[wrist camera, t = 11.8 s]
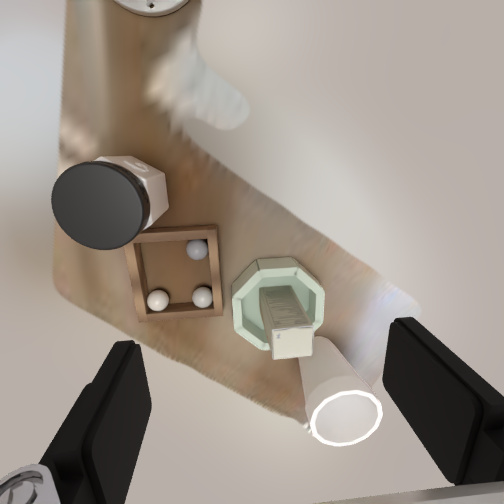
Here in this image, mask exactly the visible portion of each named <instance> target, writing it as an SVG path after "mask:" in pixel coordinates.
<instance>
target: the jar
mask: <svg viewBox="0 0 504 504" xmlns="http://www.w3.org/2000/svg"><path fill="white" fill-rule="evenodd" d="M51 197H52V198H51V203H52V209H53V213H54V216H55V218H56V220H57V222H58V224H59V225H60V227H61V228H62V229H63V230H64V232H65V233H66V234H67V235H68V236H70V237H71V238H72V239H73V240H75V241H76V242H78V243H80V244H82V245H84V246H86V247H89V248H93V249H98V250H112V249H117V248H120V247H122V246H125V245H126V244H128V243H130V242H131V241H132V240H133V239H134V238H135V237H136V236H138V235H139V234H140V233H141V232H142V231H143V230H144V229H146V228H147V227H149V226H151V225H152V224H153V223H154V222H155V221H156V220H157V219H158V218H159V217H160V216H161V215H162V214H163V213H164V212H165V211H166V210H168V208H169V204H168V196H167V188H166V179H165V174H164V173H163V172H161V171H159V170H157V169H156V168H154V167H152V166H150V165H148V164H146V163H144V162H142V161H140V160H138V159H136V158H134V157H133V156H103V157H99V158H97V159H96V160H94V161H91V162H84V163H80V164H77V165H74V166H72V167H70V168H68V169H67V170H65V171H64V172H63V173H62V174H61V175H60V176H59V178H58V179H57V181H56V182H55V184H54V187H53V191H52V196H51Z"/></svg>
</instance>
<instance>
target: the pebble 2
mask: <svg viewBox="0 0 504 504" xmlns="http://www.w3.org/2000/svg"><path fill="white" fill-rule="evenodd" d="M186 251H187V254H188V256H189V257H190V258H192V259H194V260H201V259H203V258H205V257H206V256H207V254H208V251H209V248H208V244H207V243H206V242H205V241H204V240H203V239H195V240H191V241H190V242H189V243H188V244H187V247H186Z"/></svg>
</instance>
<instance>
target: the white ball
mask: <svg viewBox="0 0 504 504" xmlns="http://www.w3.org/2000/svg"><path fill="white" fill-rule="evenodd" d="M192 299H193V302H194V304H195V305H196V306H198V307H200V308H205V307H208V306H209V305H210V304H211V303H212V301H213V293H212V291H211V290H210V289H209V288H206V287H200V288H197V289H196V290H195V291H194V293H193V296H192Z"/></svg>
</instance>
